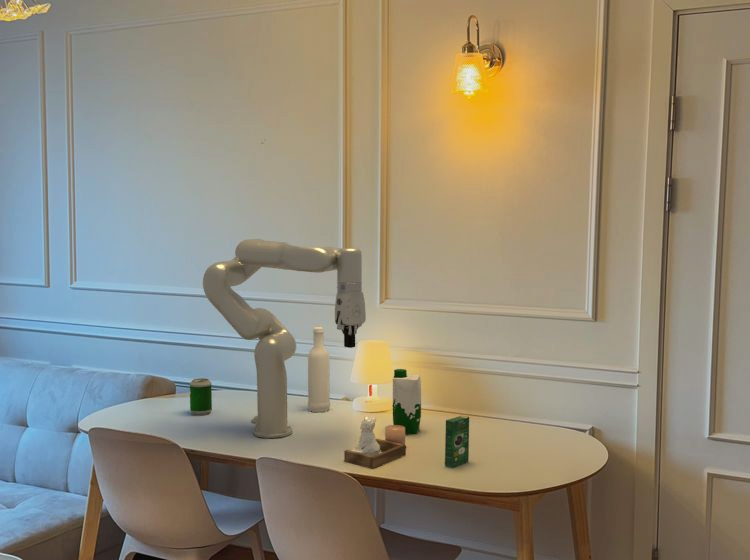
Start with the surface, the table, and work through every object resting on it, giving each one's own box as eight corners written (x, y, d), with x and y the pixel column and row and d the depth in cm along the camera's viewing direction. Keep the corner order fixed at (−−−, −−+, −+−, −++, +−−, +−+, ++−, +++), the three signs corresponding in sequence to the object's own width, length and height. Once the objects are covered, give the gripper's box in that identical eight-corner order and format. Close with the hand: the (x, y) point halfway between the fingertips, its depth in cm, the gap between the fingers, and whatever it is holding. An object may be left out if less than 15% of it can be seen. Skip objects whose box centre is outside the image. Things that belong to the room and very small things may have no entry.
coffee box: (461, 459, 213) (461, 414, 212) (469, 461, 211) (470, 416, 210) (444, 466, 207) (444, 419, 206) (452, 468, 205) (452, 421, 204)
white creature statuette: (357, 450, 222) (356, 410, 221) (384, 452, 220) (384, 412, 219) (346, 459, 213) (346, 418, 212) (375, 462, 211) (375, 420, 210)
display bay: (344, 461, 212) (344, 450, 211) (377, 448, 224) (377, 438, 223) (373, 468, 205) (373, 458, 205) (405, 455, 217) (405, 444, 217)
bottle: (304, 408, 271) (304, 326, 269) (325, 406, 274) (324, 325, 272) (312, 413, 264) (311, 329, 262) (333, 411, 267) (332, 328, 265)
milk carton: (395, 426, 247) (395, 367, 245) (422, 428, 245) (422, 368, 244) (390, 434, 238) (390, 372, 237) (418, 435, 237) (418, 373, 235)
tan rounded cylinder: (381, 447, 224) (381, 428, 224) (392, 443, 229) (392, 423, 229) (397, 451, 221) (397, 431, 220) (408, 446, 225) (409, 427, 225)
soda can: (216, 412, 266) (215, 379, 265) (201, 417, 259) (200, 383, 258) (201, 409, 270) (200, 377, 269) (185, 414, 263) (185, 380, 263)
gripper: (343, 290, 221) (343, 351, 223) (374, 287, 233) (374, 345, 234) (324, 289, 226) (324, 349, 227) (355, 285, 238) (355, 342, 239)
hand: (349, 346), depth 231 cm, fingers closed
